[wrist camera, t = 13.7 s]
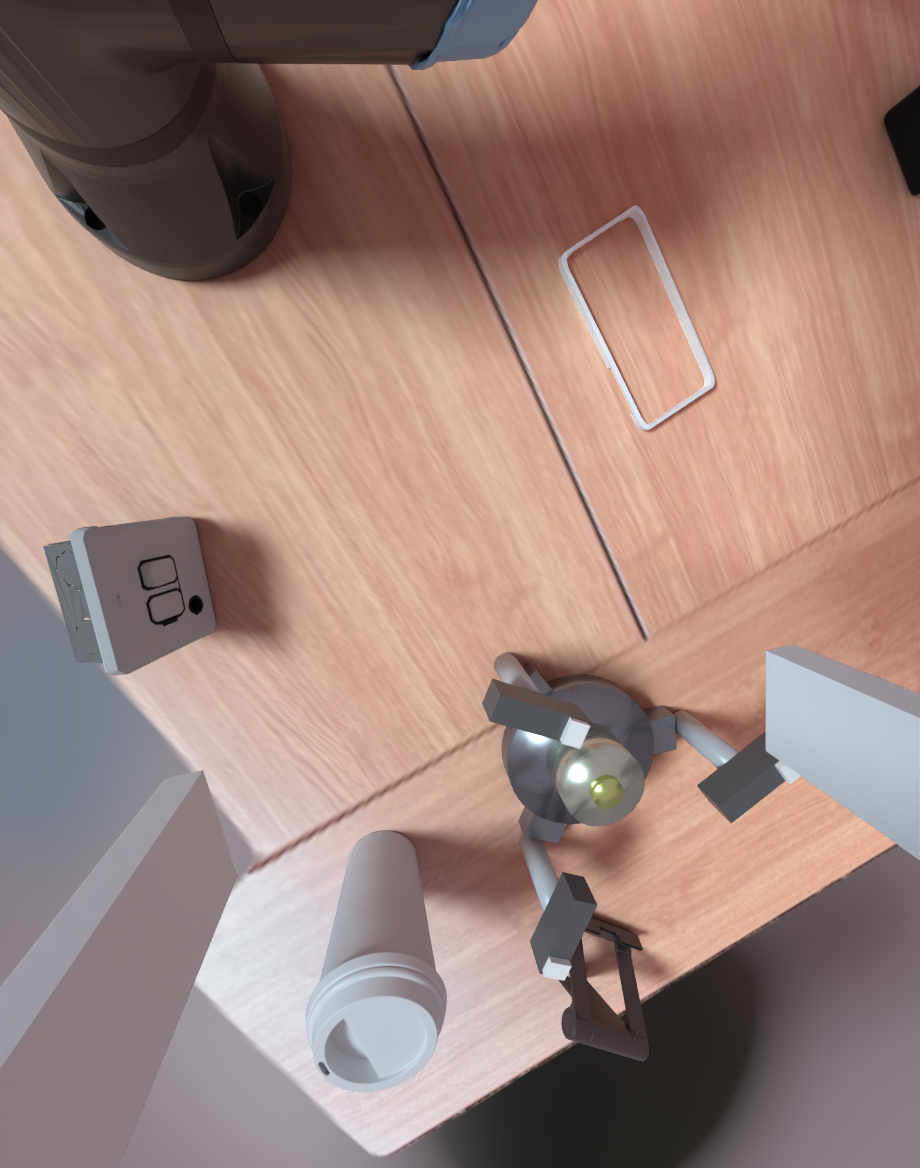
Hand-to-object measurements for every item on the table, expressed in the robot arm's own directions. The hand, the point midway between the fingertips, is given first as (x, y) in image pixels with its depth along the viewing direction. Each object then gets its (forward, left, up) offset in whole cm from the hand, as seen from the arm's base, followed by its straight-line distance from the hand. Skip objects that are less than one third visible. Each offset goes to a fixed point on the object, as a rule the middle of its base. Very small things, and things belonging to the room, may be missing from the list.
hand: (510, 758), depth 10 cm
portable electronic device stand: (+45, +10, -29) cm, 54 cm away
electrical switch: (-2, -20, -29) cm, 35 cm away
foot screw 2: (+30, +6, -29) cm, 42 cm away
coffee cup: (+28, -9, -29) cm, 41 cm away
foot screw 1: (+11, +6, -29) cm, 31 cm away
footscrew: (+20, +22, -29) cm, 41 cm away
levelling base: (+20, +12, -29) cm, 37 cm away
